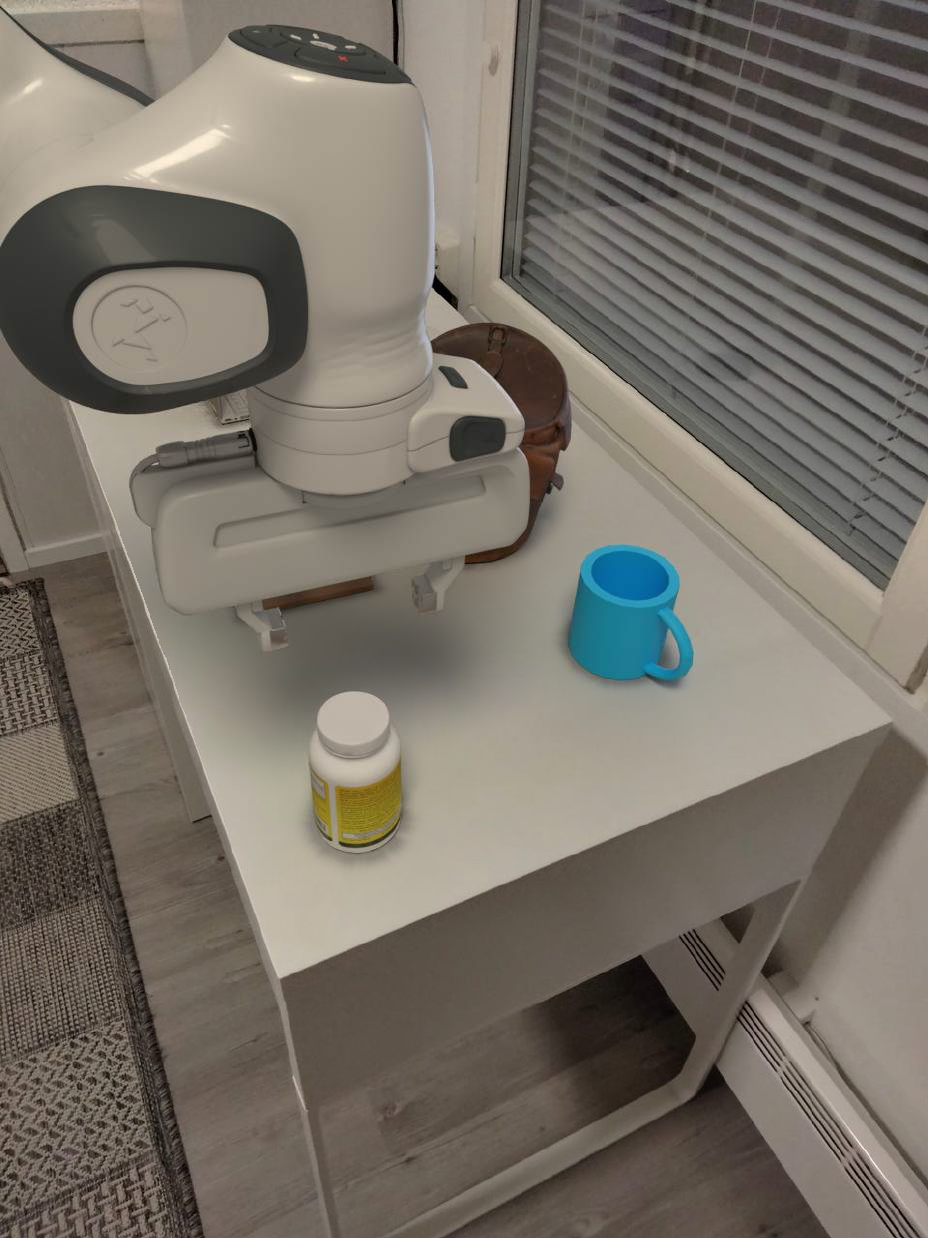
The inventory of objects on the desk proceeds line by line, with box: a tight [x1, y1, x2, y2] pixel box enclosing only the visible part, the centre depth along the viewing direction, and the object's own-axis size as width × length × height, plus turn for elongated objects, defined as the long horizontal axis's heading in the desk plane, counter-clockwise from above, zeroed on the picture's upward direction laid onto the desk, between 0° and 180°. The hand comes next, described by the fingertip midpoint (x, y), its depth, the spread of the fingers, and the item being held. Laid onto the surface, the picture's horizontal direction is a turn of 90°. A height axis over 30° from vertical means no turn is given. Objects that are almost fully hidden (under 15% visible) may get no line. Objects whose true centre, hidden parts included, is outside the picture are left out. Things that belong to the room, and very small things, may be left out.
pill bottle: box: [307, 690, 403, 854], centre depth 64 cm, size 6×6×11 cm
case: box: [430, 322, 573, 564], centre depth 89 cm, size 18×20×18 cm
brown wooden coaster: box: [262, 576, 375, 610], centre depth 90 cm, size 12×14×1 cm
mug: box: [567, 544, 695, 681], centre depth 79 cm, size 12×8×8 cm
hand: (352, 624), depth 55 cm, fingers open, 8 cm apart
